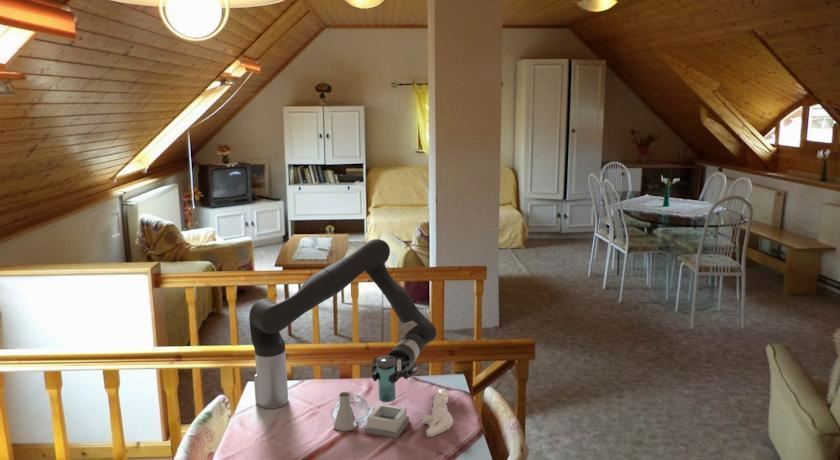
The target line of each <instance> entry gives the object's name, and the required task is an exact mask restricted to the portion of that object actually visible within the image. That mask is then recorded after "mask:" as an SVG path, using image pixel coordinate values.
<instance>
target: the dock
mask: <svg viewBox="0 0 840 460" xmlns="http://www.w3.org/2000/svg"><path fill="white" fill-rule="evenodd" d="M407 411H408V410H407V407H403V406H397V405H390V404H385V403H378V404H377V405H376V406H375V408H374V409H372V411H371V412H370V414H369V415H368V416H367V417H366V418H367V419H366V422H367V424H366V426H365V427H364V433H365V434H370V435H377V436H383V437H387V438H394V439H398V438H399V437H400V435H401V434H402V433H403V431H404V429H406V426H407V425H408V424H409V422H410V416H408V413H407Z"/></svg>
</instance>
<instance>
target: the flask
mask: <svg viewBox="0 0 840 460" xmlns="http://www.w3.org/2000/svg"><path fill="white" fill-rule="evenodd" d="M338 396H339V397H338V398H340V399H339V406H338V407H339V408H338V409H337V413H336V417H335V419H334V422H333V429H334V430H337V431H340V432H348V431H353V430H354V429H353V427H354V425H353V422H354V421H355V417H356V415H355V413H354V410H353V408H352V406H351V402H350V396H351V394H350V392H348V391H341V392H340V393H339V394H338ZM354 415H355V416H354Z"/></svg>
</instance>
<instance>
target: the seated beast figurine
mask: <svg viewBox="0 0 840 460" xmlns="http://www.w3.org/2000/svg"><path fill="white" fill-rule="evenodd" d="M433 397H434V398H433V401H432V403H433V406H432V409H431V414H426V415H423V416H422V417H421V423H422V424H423V425H428V426H429V427H428V428H427V429H426V431H425V433H426V436H427V437H428V438H429V437H430V438H431V437H435V436H437V435H439V434H442V433H444V432H447V431H449V429H451V427H452V426H453V424H454V419H453V415H452V414H451V413H450V412H449V410H448V405H447V403H449V397H450V396H449V393H448V392H447V391H446V389H445V388H444V387H443V388H440V389H438V390H437V393H436V395H434V396H433Z"/></svg>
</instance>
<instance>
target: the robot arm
mask: <svg viewBox="0 0 840 460" xmlns="http://www.w3.org/2000/svg"><path fill="white" fill-rule="evenodd" d="M390 254H391V248H390V246H389V244H388V243H387V242H386V241H385V240H384V239H381V238H380V239H378V238H374V239H370V240H368V241H367V242H366V243H364V244H363V245H362V246H361V247H359V248H357V249H356V250H355V251H354V252H352V253H351V254H349V255H347V256H346V257H343V258H341V259H339V260H337V261H335V262H333V263H331V264H330V265H328V266H326V267H323V268H322V269H321V270H319V271H317V272H315V273H313V274H312V275H311V276H309V277H308V278H307V279H306V280H305V281H304V282H303V284H301V286H300V288H299V289H298V290H297V291H296V293H294V294H293V295H291V296H290V297H288V298H285V299H284V300H282V301H280V302H278V303H277V302H274V301H272V300H270V299H267V298H266V299H265V298H263V299H259V300H257V301H255V302H254V304H253V305H252V306H251V308H250V311H249V316H248V317H249V319H248V320H249V321H248V322H249V328H250V329H249V330H250V331H249V332H250V338H251V339H250V340H251V342H252V345H253V348H254V357H255V358H254V359H255V371H256V372H255V373H256V374H255V375H253V384H254V396H255V405H258V406H259V407H261V408H263V409H269V410H270V409H278V408H281V407H283V406H285V405H286V404H288V402H289V390H288V389H289V387H288V386H289V385H288V373H287V371H288V369H287V358H286V357H287V355H286V343H285V340H284V338H283V337H282V335H281V333H280V332H281V331H283V330H284V329H286V328H287V327H288V326H290V325H291V324H293V322H295V321H296V320H297V319H299V318H300V317H301V316H302V315H304V314H306V313H307V312H309V311H311V310H313V309H314V308H315V307H318V305H320V304H321V303H324V302H326V301H327V300H328V299H330V298H332V297H333V296H335V295H337V294H339V293H340V292H341V291H343V290H344V289H345V288H347V286H349V285H350V284H351V283H352V282H354V280H355V279H356V278H358V277H359V276H360V275H362V273H366V274H367V275H368V277H370V279H372V281H373V282H374V284H376V286H377V287H378V288H379V291H381V293H382V294H383V295H384V297H385V298H386V300H387V302H388V303H389V304H390V306H391V308H392V309H393V311H394V313H395V314H396V317H397V319H398V320H399V321H400V322H401V323H402V324H407V323H410V322H414V323H415V324H416V325H415V326H414V327H412V328H410V329H409V330H408V331H407V332H406V333H405V334H404V337H403V338H402V340H401V341H400V342H398V343H397V344H396V345H394V347H393V348H392V349H391V351H390V352H389V353H388V355H389V356H393V357H395V358H396V365H395V372H394V373H393V375H392V376H391V383H393V384H394V383H395V384H396V383H397V382H398V381H399V380H400V379H402V378H403V379H404V380H405V379H406V380H407V379H409V378H410V377H411V376H413V375H414V374H416V373H417V372H418V365H417V363H416V361H417V358H418V356H419V355H420V354H421V353H422V351H423V349H424V347H425V346H426V345H428V344H429V343H431V342H433V341H434V340H435V339H436V338H437V335H438V334H437V329H436V327H435V326H434V324H433V323H432V321H430V320H429V319H428V318H427V316H425V315H424V314H423V313H422V312H421V311H420V310H419V308H417V305H416V304H415V302H414V300H413V299H412V297H411V295H409V293H408V292H407V291H406V289H404V288H403V287H402V286H401V285H400V284H399V283H398V282H397V281H396V280H395V279H394V278H393V277H392V276H391V274H390V273H389V271H388V268H387V267H386V263H387V261H388V260H389V258H390ZM377 358H378V357H375V358H374V359H373V361H372V364H371V374H372V375H371V376H372V377H371V378H372V380H373V381H374V382H378V367H377V365H376V359H377Z"/></svg>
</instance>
